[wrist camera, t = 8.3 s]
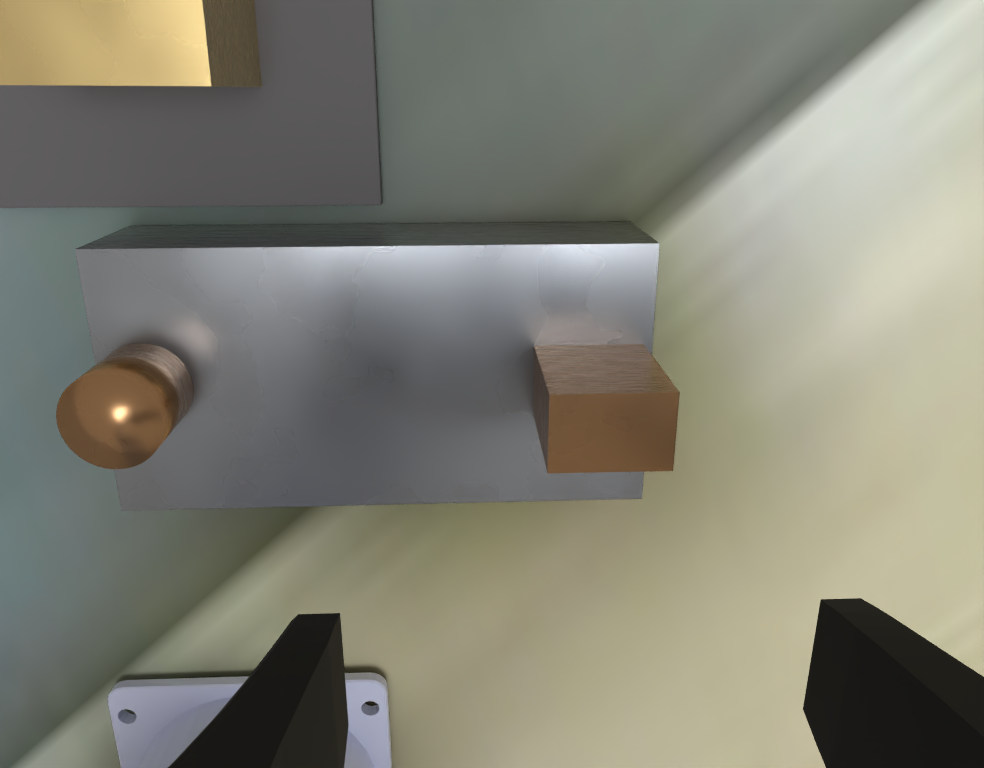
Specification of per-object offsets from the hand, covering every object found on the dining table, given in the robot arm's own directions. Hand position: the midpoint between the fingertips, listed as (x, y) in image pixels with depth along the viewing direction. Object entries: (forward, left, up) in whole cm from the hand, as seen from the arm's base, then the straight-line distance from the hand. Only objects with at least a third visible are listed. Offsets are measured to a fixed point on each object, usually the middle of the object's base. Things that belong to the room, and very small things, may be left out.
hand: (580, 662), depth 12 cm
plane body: (+2, +4, -10) cm, 11 cm away
